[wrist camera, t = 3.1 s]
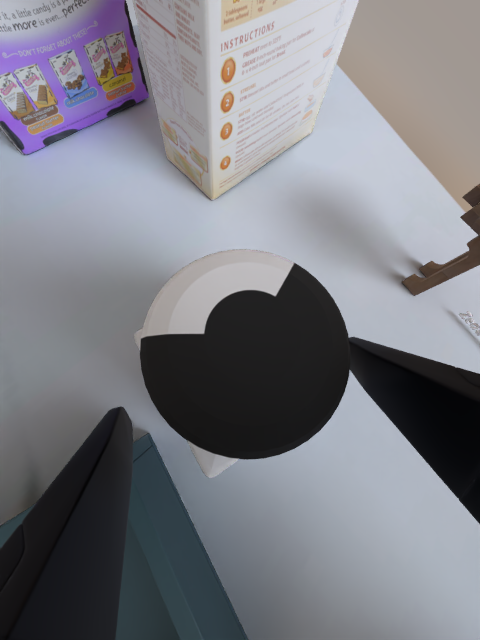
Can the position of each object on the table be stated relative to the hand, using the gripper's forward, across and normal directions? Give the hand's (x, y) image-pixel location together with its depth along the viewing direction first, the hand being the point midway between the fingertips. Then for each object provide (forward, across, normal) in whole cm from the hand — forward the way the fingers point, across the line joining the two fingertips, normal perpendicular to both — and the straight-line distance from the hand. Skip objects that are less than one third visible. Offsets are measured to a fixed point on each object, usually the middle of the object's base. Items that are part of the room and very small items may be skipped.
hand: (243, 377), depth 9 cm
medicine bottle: (+7, 0, +6) cm, 9 cm away
